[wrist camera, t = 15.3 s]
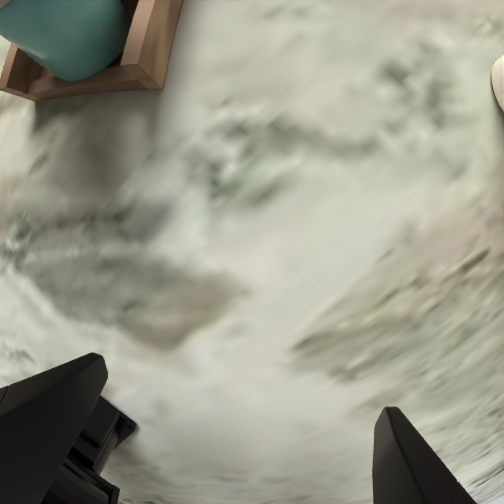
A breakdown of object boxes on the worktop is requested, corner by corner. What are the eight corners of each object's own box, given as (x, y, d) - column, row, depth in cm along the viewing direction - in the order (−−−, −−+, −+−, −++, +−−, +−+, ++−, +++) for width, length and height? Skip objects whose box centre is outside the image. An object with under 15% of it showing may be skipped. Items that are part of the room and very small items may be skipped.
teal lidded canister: (48, 101, 15) (-55, 39, 5) (51, 32, 14) (-21, -34, 4) (141, 56, 15) (67, -55, 5) (132, -8, 14) (82, -101, 4)
